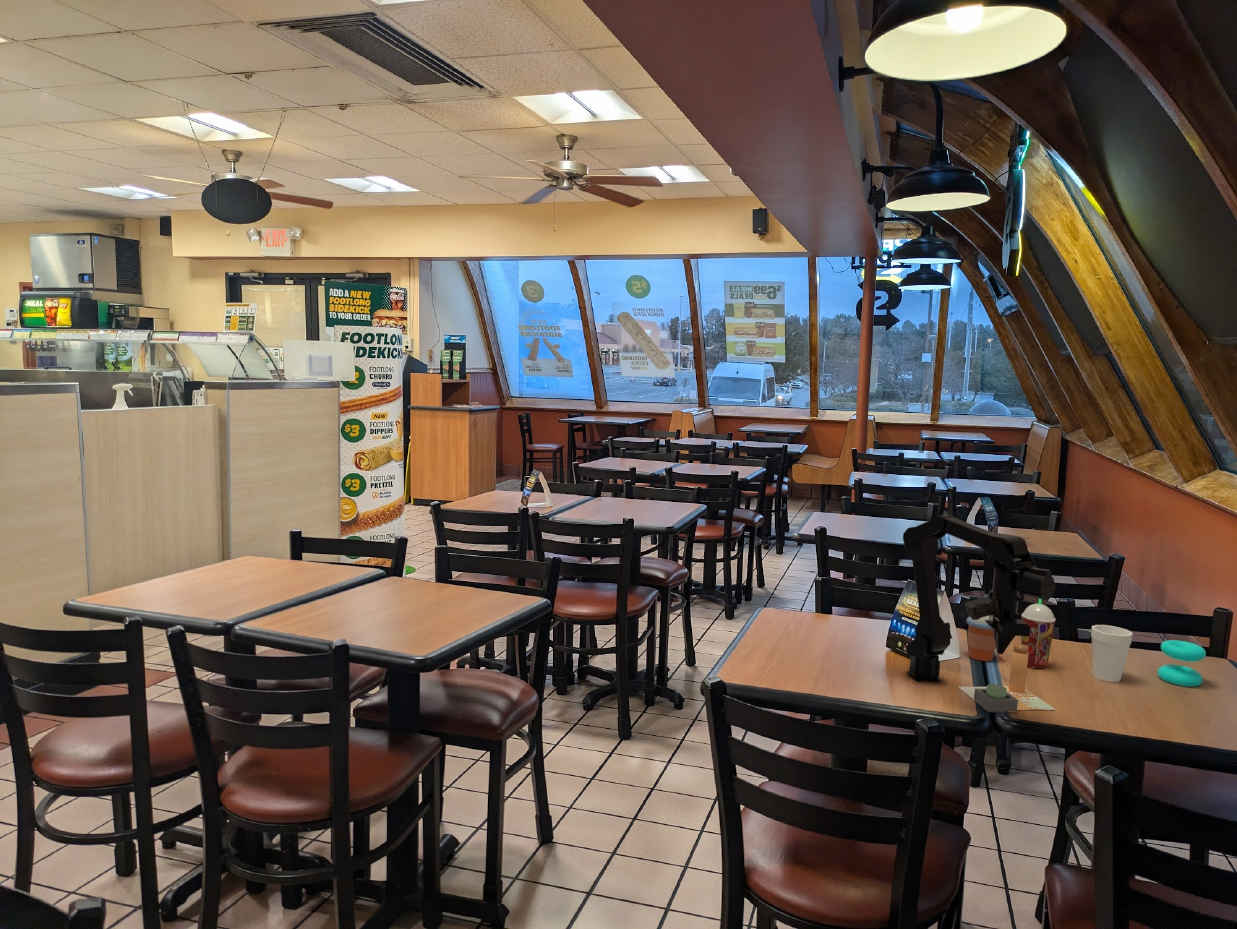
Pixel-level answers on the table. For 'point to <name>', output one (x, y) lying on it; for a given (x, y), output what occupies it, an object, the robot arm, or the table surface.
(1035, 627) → the smoothie
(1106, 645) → the foam cup
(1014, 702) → the sheet
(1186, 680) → the donuts
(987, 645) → the cup with straw
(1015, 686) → the tan cylindrical piece
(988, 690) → the button
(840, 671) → the table surface
